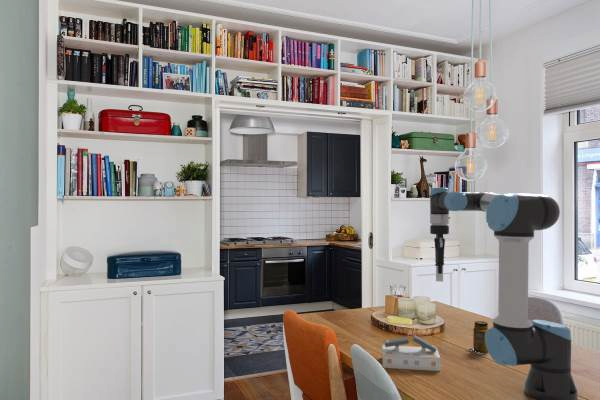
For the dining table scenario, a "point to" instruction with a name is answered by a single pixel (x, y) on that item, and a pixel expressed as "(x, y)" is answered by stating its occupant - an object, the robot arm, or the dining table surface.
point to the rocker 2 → (424, 343)
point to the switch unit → (411, 358)
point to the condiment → (479, 337)
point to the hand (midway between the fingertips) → (439, 281)
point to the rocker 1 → (396, 342)
